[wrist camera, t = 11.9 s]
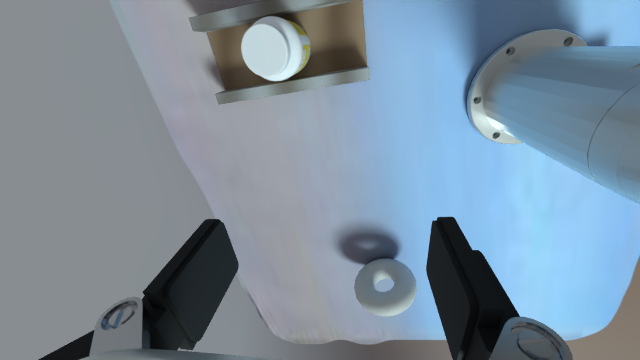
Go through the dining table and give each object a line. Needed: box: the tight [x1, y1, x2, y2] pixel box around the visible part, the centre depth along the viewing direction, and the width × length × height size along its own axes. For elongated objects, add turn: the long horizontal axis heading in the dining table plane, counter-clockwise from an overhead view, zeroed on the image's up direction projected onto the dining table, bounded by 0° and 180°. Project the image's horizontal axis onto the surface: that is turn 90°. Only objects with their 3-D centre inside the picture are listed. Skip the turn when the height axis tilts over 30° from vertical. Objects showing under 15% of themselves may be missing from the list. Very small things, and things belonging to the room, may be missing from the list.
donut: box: [354, 258, 417, 316], centre depth 40 cm, size 10×4×10 cm, turn 110°
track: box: [189, 0, 370, 104], centre depth 28 cm, size 18×9×4 cm, turn 100°
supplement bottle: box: [241, 16, 311, 81], centre depth 25 cm, size 5×5×10 cm
